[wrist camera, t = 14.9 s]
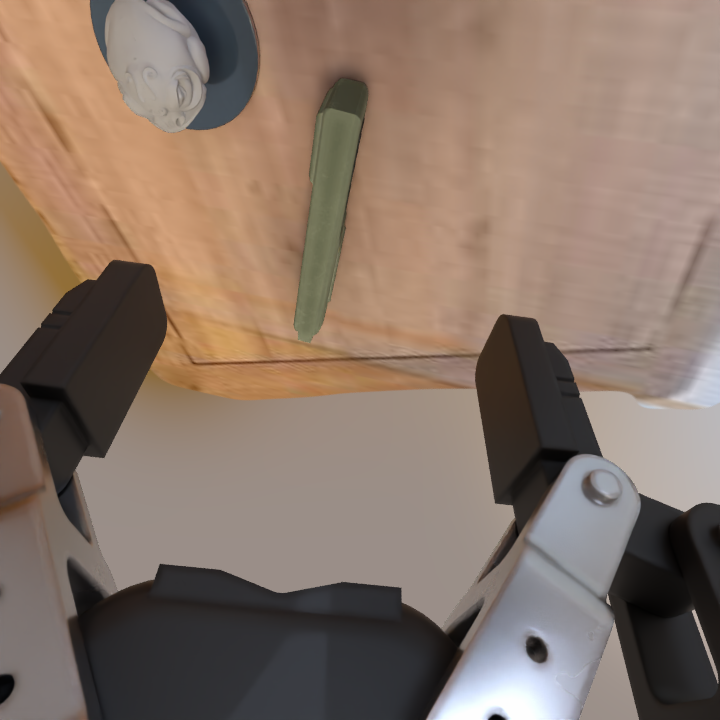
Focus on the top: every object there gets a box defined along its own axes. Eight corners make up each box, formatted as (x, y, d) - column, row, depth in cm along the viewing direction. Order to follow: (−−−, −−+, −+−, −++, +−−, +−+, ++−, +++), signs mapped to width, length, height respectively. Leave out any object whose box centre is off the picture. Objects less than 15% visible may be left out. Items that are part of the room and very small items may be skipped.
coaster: (69, -86, 26) (63, -86, 26) (256, -52, 27) (254, -51, 26) (119, 115, 34) (115, 118, 34) (262, 137, 35) (260, 140, 34)
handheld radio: (376, 86, 32) (324, 332, 50) (330, 73, 31) (295, 325, 49) (368, 118, 27) (314, 376, 45) (315, 104, 27) (282, 369, 45)
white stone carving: (164, 112, 33) (126, 150, 28) (108, -6, 28) (50, 16, 23) (239, 94, 32) (212, 131, 27) (194, -31, 27) (152, -13, 22)
